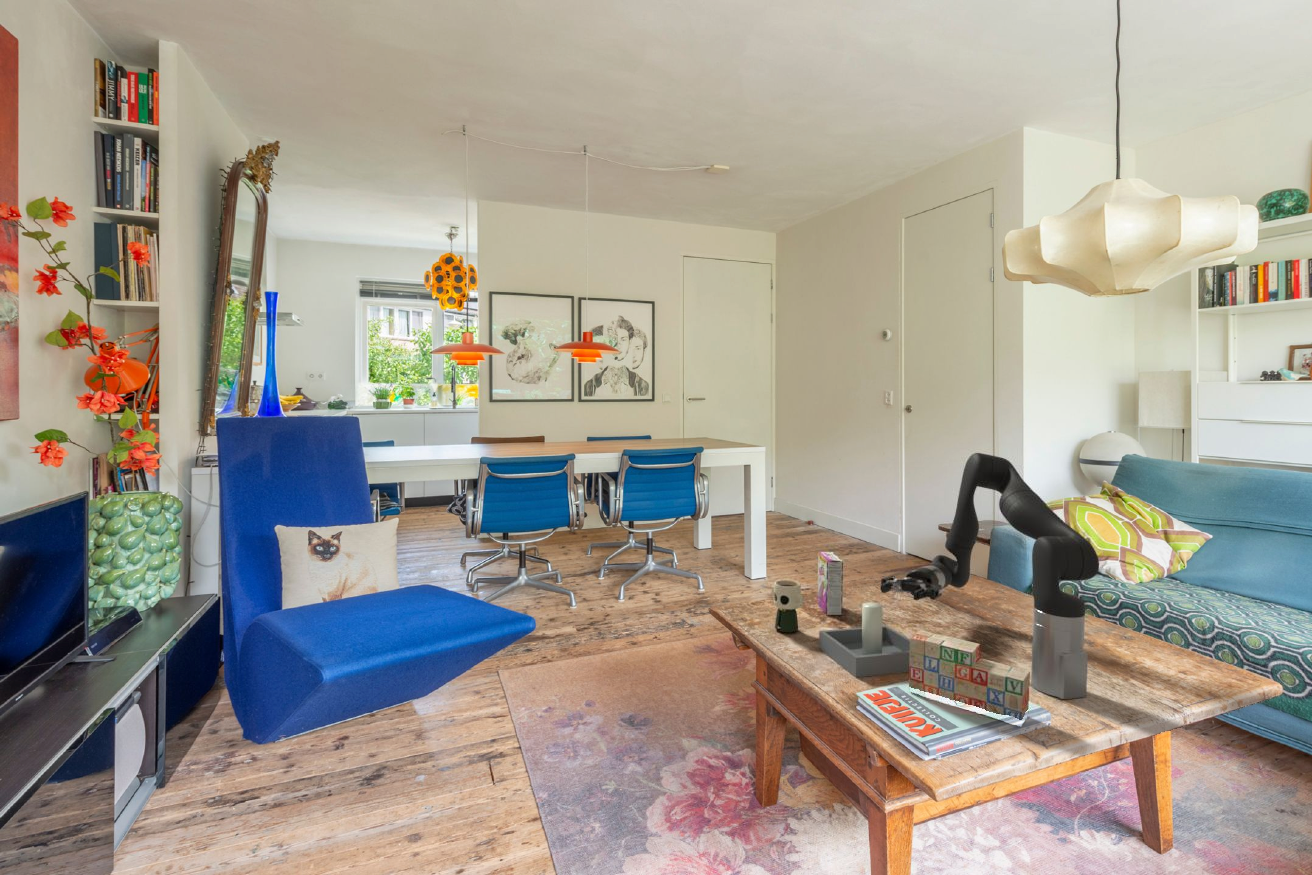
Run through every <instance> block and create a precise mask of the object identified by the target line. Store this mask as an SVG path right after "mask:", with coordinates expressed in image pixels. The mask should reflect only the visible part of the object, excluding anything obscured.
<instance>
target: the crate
mask: <svg viewBox="0 0 1312 875" xmlns="http://www.w3.org/2000/svg"><path fill="white" fill-rule="evenodd" d="M818 636H819V637H818V649H819V650H820V651H822V652H823V653H824V654H825V655H826V656H828V657H829V658H830V659H832V660H833V661H834V662H835V663H837V664H838V665H839V666H841V667H842V668H843V669H845V670H846V671H847V672H848V673H849V674H851V675H852V676H853V677H855V678H865V677H873V676H882V675H883V676H884V675H893V674H894V675H895V674H900V673H901V674H902V673H909V666H910V665H909V656H910V655H909V652H910V637H907V636H905V635H904V634H902V633H900V632H899V631H897V630H895V629H893V628H892V627H890V626H888V624H887V625H886V624H885V625H882V653H881V654H870V655H863V654H862V626H861V627H852V628H849V627H848V628H838V629H829V630H828V629H825V630H819V634H818Z"/></svg>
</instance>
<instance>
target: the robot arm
mask: <svg viewBox="0 0 1312 875" xmlns="http://www.w3.org/2000/svg"><path fill="white" fill-rule="evenodd" d="M978 487H979V488H983V489H987V490H991V491H992V490H993V491H996V492H998V493H1000V495H1001V496H1000V497H999V502H998V506H999V511H1000V512H1001V515H1002V516H1003V517H1004V518H1005V520H1006V521H1007V522H1008V524H1009V525H1010V526H1011V527H1012V528H1013V529H1015V531H1017V532H1019V533H1021V534H1023V535H1024V536H1026V537H1028V538H1031V539H1033V540H1035V541H1034V543H1033V546H1032V550H1031V552H1032V554H1031V566H1032V567H1031V568H1032V570H1031V571H1032V594H1033V623H1032V648H1031V651H1032V652H1031V672H1030V678H1031V679H1030V681H1031V682H1030V684H1031V686H1032V687H1033V688H1034V689H1035V690H1037V691H1039V692H1041V693H1043V694H1047V695H1049V696H1053V697H1057V698H1059V699H1061V700H1068V699H1069V700H1070V699H1076V698H1077V699H1078V698H1085V697H1087V685H1088V659H1089V654H1088V652H1087V651H1085V650H1084V648H1085V647H1084V646H1085V645H1084V644H1085V628H1086V627H1085V625H1086V624H1085V622H1086V603H1085V601H1084V600H1083V599H1081V598H1080V597H1078V596H1075V595H1073V594H1070V593H1069V592H1068V593H1067V592H1066V591H1062V590H1061V588H1060V581H1076V582H1080V581H1088V580H1091V579H1092V578H1095V576H1096V575H1097V574H1098V572H1099V569H1100V560H1099V556H1098V554H1097V552H1096V550H1095V548H1094V546H1093V544H1091V542H1090V541H1089V540H1088V539H1086V538H1085V537H1084V536H1083V535H1082V534H1080V533H1079V532H1077V530H1075V529H1074V528H1072V527H1071V526H1070V525H1069V524H1067V523H1066V522H1065V521H1063V520H1062V518H1060V517H1059V516H1058V515H1057V513H1056V512H1054V511H1053V510H1052V509H1051V508H1050V507H1049V506H1048V505H1047V503H1046V502H1045V501H1044V500H1043V499H1042V498H1041V496H1039V495H1038V494H1037V493H1036V492H1035V491H1034V490H1033V489H1032V488H1031V487H1030V486H1029V485H1028V483H1026V481H1025V480H1024V479H1023V478H1022V477H1021V476H1020V474H1019V472H1018V471H1017V469H1016V467H1015V466H1014V465H1013V463H1012V462H1010V460H1008V459H1007V458H1004V457H1000V456H996V455H992V454H985V453H981V452H975V453H972V454H971V455H970V456H969V457H968V459H967V461H966V463H965V466H964V468H963V472H962V477H961V482H960V487H959V492H958V496H957V502H956V503H957V504H956V509H955V513H954V516H953V522H952V524H951V526H950V530H949V532H948V534H947V538H946V541H945V545H944V547H945V549H946V550H947V551H948V552H949V553H951V555H952V556H954V557H955V559H956V560H955V559H952V558H951V557H950V556H949V557H948V556H947V555H943V554H939V555H936V556H935V557H934V558H933V559H932V561H931V563H930V564H928V565H924V566H920V567H919V568H916V569H912V570H910V571H909V572H908V573H907V574H906V576H905V577H902V578H901V577H899V578H897V577H896V576H895V575H889V576H887V577H886V576H885V577H883V578H881V579H880V591H881V593H882V594H886V593H888V592H890V591H891V592H893V591H894V592H895V593H906V594H910V595H912V596H913V600H915V601H919V600H922V599H925V600H926V599H928V598H929V599H930V600H933V601H934V600H937V599H939V598H940V597H942V595H943V589H945V588H946V587H948V586H951V587H954V588H958V589H960V588H963V587H965V586H967V583H968V582H969V580H970V576H971V574H970V573H971V558H972V552H973V548H974V546H975V543H976V541H977V538H978V535H979V531H980V530H979V529H980V524H979V519H978V518H979V517H978V515H977V511H976V508H975V507H976V506H975V500H974V498H975V494H976V493H975V492H976V490H977V488H978Z"/></svg>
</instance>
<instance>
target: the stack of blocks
mask: <svg viewBox="0 0 1312 875" xmlns="http://www.w3.org/2000/svg"><path fill="white" fill-rule="evenodd" d="M909 639H910V652H909V655H910V656H909V665H910V666H909V672H908V673H909V674H908V675H909V679H908V688H909V687H911V688H914V689H919V690H920V691H924V692H929V693H932V694H936V695H939V696H942V697H945V698H949V699H950V700H955V701H959V702H962V703H965V704H968V705H973V706H976V707H979V708H982V709H985V710H986V711H989V712H993V713H996V714H1001V715H1009V716H1013V717H1015V718H1017V719H1019V720H1022V719H1023V717H1024V715H1025V712H1026V711H1027V710H1028V709H1029V702H1030V684H1031V682H1030V681H1031V679H1030V678H1031V671H1030V670H1028V669H1027V670H1026V669H1022V668H1019V667H1017V666H1016V667H1015V666H1012V665H1010V664H1009V665H1008V664H1004V663H1000V662H996V661H992V660H988V659H984V658H981V644H980V643H977V642H973V641H970V640H964V639H959V638H955V637H951V636H948V635H947V636H946V635H943V634H938V633H933V632H931V631H926V630H921V629H920V630H918V631H917V632H915V634H913V635H911V636H910V637H909Z"/></svg>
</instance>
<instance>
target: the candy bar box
mask: <svg viewBox="0 0 1312 875" xmlns="http://www.w3.org/2000/svg"><path fill="white" fill-rule="evenodd" d="M843 569H844V561H843V560H842V559H841V558H840V557H839V556H838V555H837V554H836V553H835V552H834V551H817V604H818V606H819V605H820V606H819V607H820V608H821V610H822V609H823V610H822V612H823V613H824V614H825V613H826V614H825V615H826V616H828V615H842V616H843V588H844V587H843V586H844V585H843V583H844V582H843V580H844V577H843V576H844V573H843V572H844V570H843Z"/></svg>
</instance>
